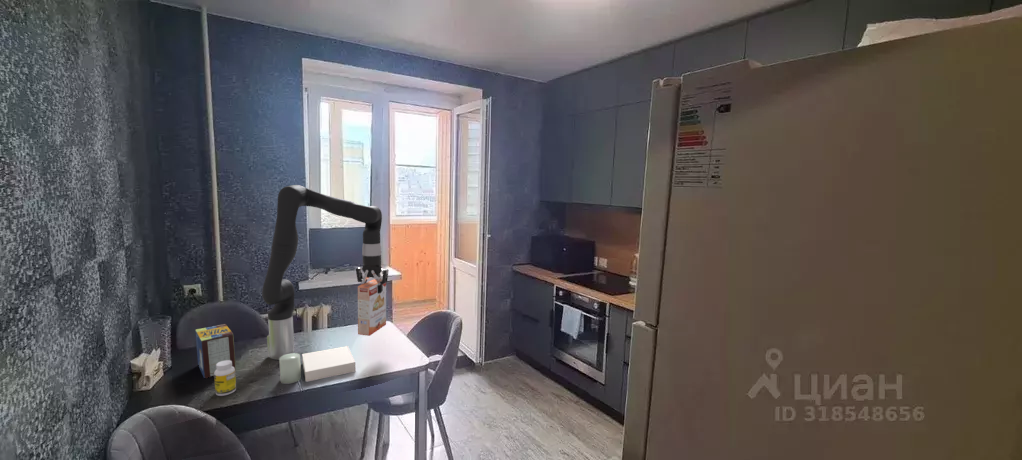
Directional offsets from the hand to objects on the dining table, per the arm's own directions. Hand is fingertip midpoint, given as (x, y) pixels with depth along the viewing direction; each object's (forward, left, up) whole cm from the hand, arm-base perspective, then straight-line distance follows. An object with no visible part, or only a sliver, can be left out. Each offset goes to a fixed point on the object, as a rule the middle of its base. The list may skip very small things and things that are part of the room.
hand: (372, 292), depth 173 cm
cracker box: (0, 0, -17) cm, 17 cm away
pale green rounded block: (-22, -24, -29) cm, 44 cm away
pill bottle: (-38, -37, -30) cm, 61 cm away
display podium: (-14, -12, -29) cm, 35 cm away
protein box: (-57, -22, -30) cm, 68 cm away
